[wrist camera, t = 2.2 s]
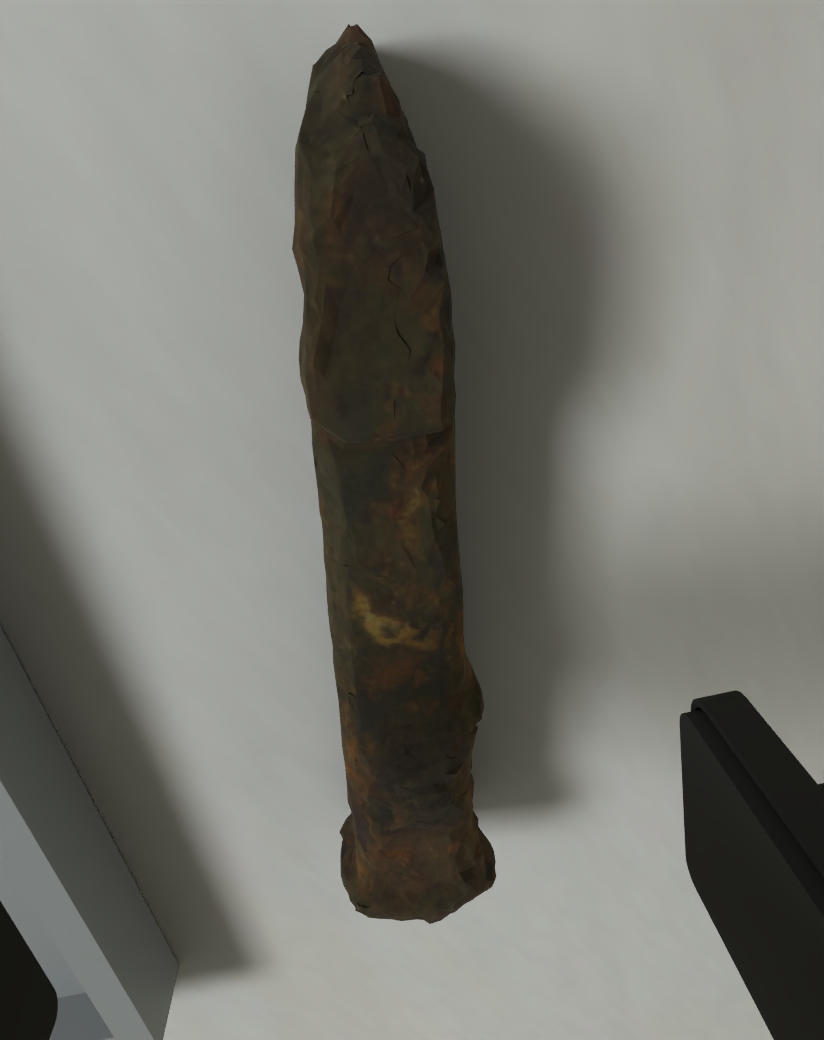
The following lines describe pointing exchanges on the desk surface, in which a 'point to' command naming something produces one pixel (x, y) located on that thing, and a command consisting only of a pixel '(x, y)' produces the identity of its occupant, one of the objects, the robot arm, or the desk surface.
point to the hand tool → (387, 492)
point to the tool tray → (73, 883)
